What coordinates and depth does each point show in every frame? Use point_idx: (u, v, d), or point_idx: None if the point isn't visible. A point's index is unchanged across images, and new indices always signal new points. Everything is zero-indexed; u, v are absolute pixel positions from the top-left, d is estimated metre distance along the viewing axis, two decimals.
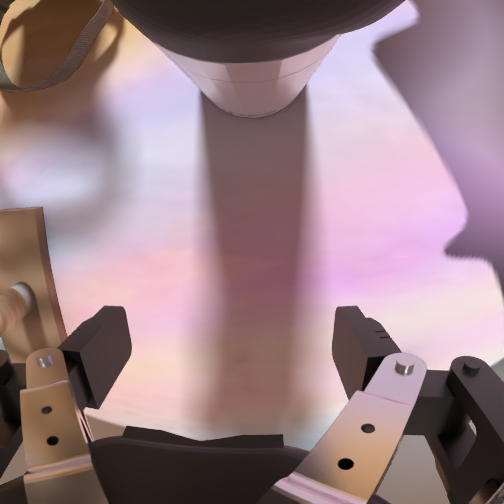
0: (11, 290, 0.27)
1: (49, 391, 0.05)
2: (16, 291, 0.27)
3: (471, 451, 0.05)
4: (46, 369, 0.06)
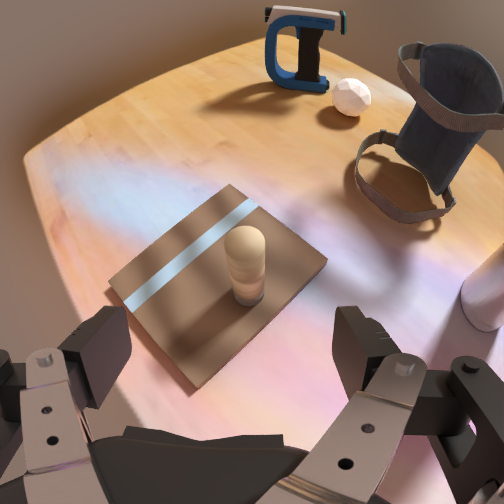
0: None
1: (49, 391, 0.05)
2: None
3: (471, 451, 0.05)
4: (46, 369, 0.07)
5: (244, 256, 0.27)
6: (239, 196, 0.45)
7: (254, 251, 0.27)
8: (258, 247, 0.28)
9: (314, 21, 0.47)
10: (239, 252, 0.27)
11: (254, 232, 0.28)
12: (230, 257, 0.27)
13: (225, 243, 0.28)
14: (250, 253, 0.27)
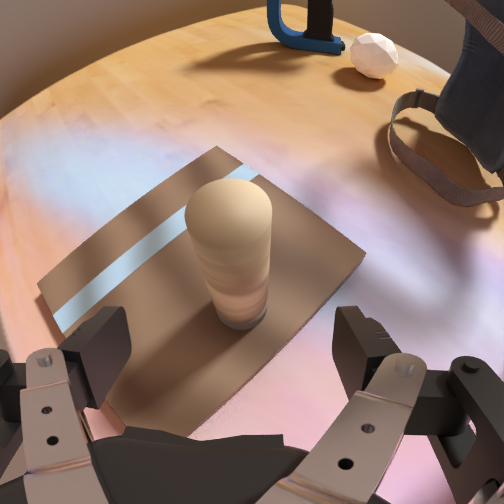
0: None
1: (49, 391, 0.05)
2: None
3: (471, 451, 0.05)
4: (46, 369, 0.07)
5: (226, 238, 0.12)
6: (230, 161, 0.30)
7: (248, 228, 0.12)
8: (257, 220, 0.13)
9: None
10: (215, 230, 0.12)
11: (249, 190, 0.14)
12: (196, 241, 0.12)
13: (187, 212, 0.13)
14: (240, 233, 0.12)
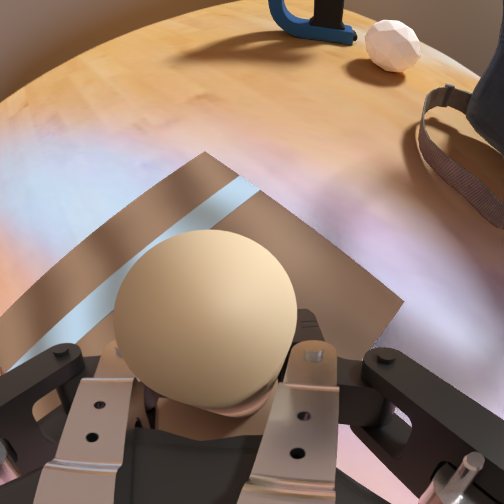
0: None
1: (110, 386, 0.06)
2: None
3: (410, 440, 0.06)
4: (121, 360, 0.07)
5: (197, 380, 0.05)
6: (222, 173, 0.23)
7: (246, 356, 0.05)
8: (265, 335, 0.06)
9: None
10: (174, 357, 0.05)
11: (248, 260, 0.06)
12: (136, 374, 0.05)
13: (120, 307, 0.06)
14: (228, 368, 0.05)
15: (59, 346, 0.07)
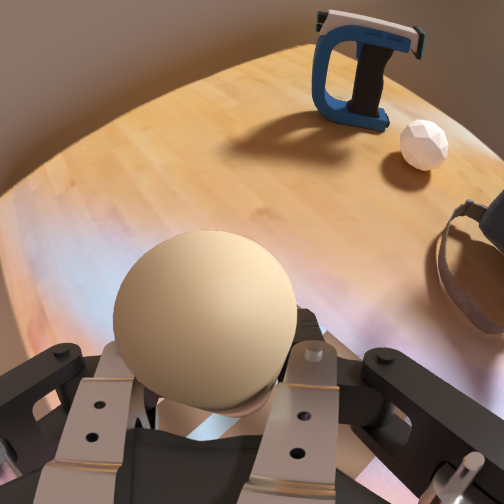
0: None
1: (110, 386, 0.06)
2: None
3: (410, 440, 0.06)
4: (121, 360, 0.07)
5: (197, 381, 0.05)
6: None
7: (246, 357, 0.05)
8: (265, 336, 0.06)
9: (385, 37, 0.33)
10: (174, 359, 0.05)
11: (247, 261, 0.06)
12: (136, 375, 0.05)
13: (119, 309, 0.06)
14: (228, 369, 0.05)
15: (59, 346, 0.07)
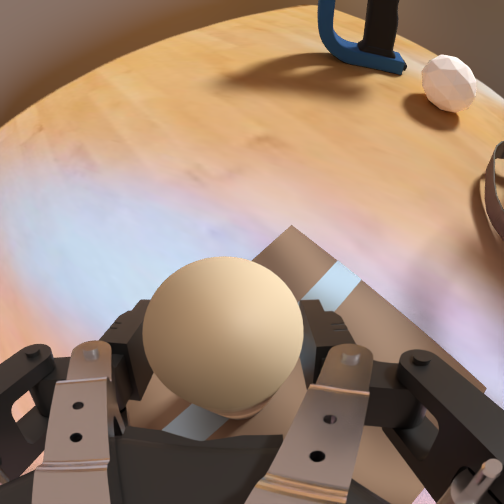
0: None
1: (85, 386, 0.05)
2: None
3: (435, 442, 0.05)
4: (90, 362, 0.07)
5: (219, 388, 0.06)
6: (317, 256, 0.20)
7: (260, 368, 0.06)
8: (277, 350, 0.07)
9: None
10: (199, 369, 0.06)
11: (261, 284, 0.07)
12: (165, 384, 0.06)
13: (148, 326, 0.07)
14: (246, 378, 0.06)
15: (30, 347, 0.07)
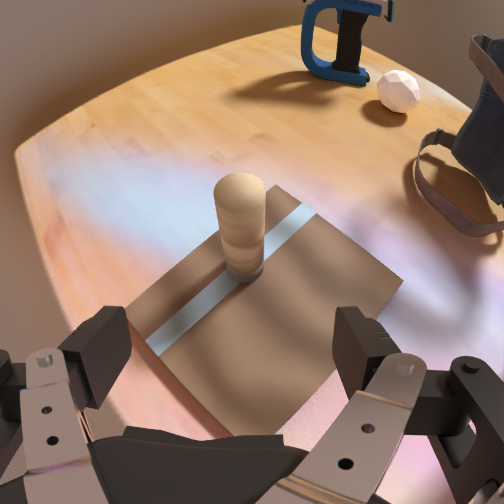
0: None
1: (49, 391, 0.05)
2: None
3: (471, 451, 0.05)
4: (46, 369, 0.07)
5: (239, 206, 0.21)
6: (290, 200, 0.35)
7: (252, 200, 0.21)
8: (257, 196, 0.22)
9: (359, 4, 0.38)
10: (232, 201, 0.21)
11: (252, 179, 0.22)
12: (221, 208, 0.21)
13: (215, 191, 0.22)
14: (247, 203, 0.21)
15: None
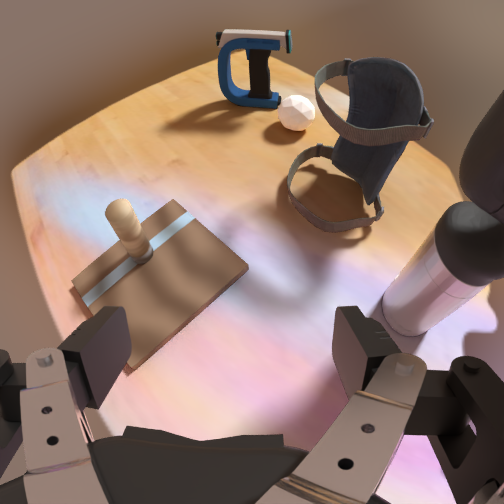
0: (147, 239, 0.46)
1: (49, 391, 0.05)
2: (149, 243, 0.46)
3: (471, 451, 0.05)
4: (46, 369, 0.06)
5: (115, 218, 0.37)
6: (179, 210, 0.51)
7: (122, 215, 0.37)
8: (125, 212, 0.37)
9: (260, 43, 0.54)
10: (113, 216, 0.37)
11: (125, 202, 0.38)
12: (107, 219, 0.37)
13: (106, 210, 0.38)
14: (119, 216, 0.37)
15: None
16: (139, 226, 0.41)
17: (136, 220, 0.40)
